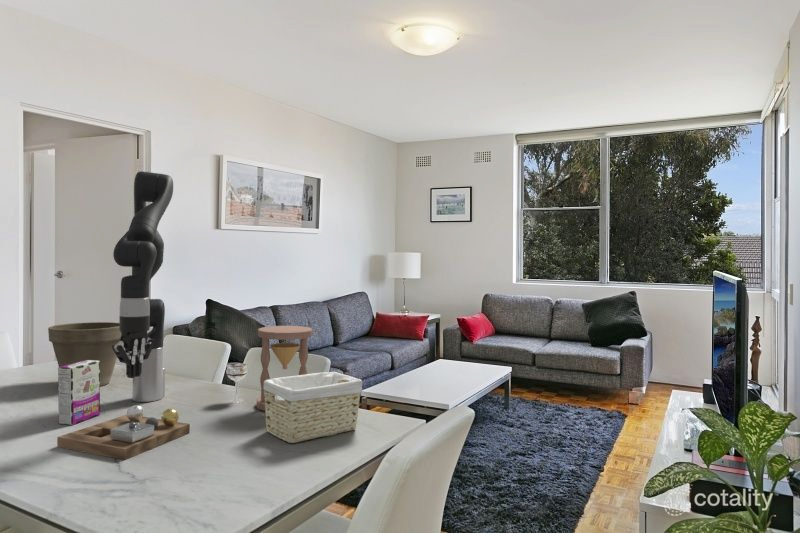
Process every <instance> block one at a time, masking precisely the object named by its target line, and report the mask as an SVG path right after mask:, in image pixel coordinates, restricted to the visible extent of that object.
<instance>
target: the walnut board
mask: <svg viewBox="0 0 800 533" xmlns="http://www.w3.org/2000/svg"><path fill="white" fill-rule="evenodd" d="M148 418H149V417H146V416H143V418H142V419H141V420H139V421H131V420H129V419H128V417H127V414H125V415H121V416H119V417H115V418H112V419H109V420H106V421H103V422H100V423H96V424H94V425H93V424H92V425H91V426H87V427H85V428H81V429H77V430H75V431H72V432H69V433H66V434H63V435H60V436H57V437H56V438H57V440H56V442H57V443H56V444H57V448H62V449H65V450H66V449H67V450H71V451H77V452H82V453H88V454H92V455H98V456H104V457H108V458H115V459H119V460H125V461H126V460H127V459H130V458H133V457H135V456H138V455H140V454H142V453H145V452H147V451H150V450H152V449H154V448H157V447H159V446H162V445H164V444H166V443H169V442H171V441H174V440H176V439H179V438H181V437H183V436H186V435H188V433H189V434H190V428H191V425H190V423H186V422H179V421H177V422H176V423H175V424H173V425H170V426H169V425H165V424H164V423H163V422H162V420H161V419H159V418H156V419H157V420H158V426H157V427H156V428H155V429H154V435H151V436H149V437H146V438H144V439H141V440H138V441H136V442H133V443H131V442H125V441H119V440H114V439H110V438H111V429H113V428H116V427H119V426H122V425H125V424H128V423H131V422H138V423H144V424H145V422H146V420H147V419H148Z"/></svg>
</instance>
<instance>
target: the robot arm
mask: <svg viewBox="0 0 800 533" xmlns="http://www.w3.org/2000/svg"><path fill="white" fill-rule="evenodd" d="M173 192H174V180H173V177H171V175H169V174H165V173H159V172H151V171H138V172H137V173H136V174H135V176H134V181H133V206H134V207H133V208H134V210H133V211H134V213H133V214H134V216H133V217H132V219H131V221H130V224H129V227H128V229H127V231H126V233H124V235H123V236H121V238H120V239H119V240H118V241H117V243H116V244H115V246H114V249H113V255H112V256H113V260H114V261H115V264H117V265H118V266H120V267H128V268H131V274H130V275H125V276H122V278H121V280H120V300H119V322H118V323H119V330H120V332H121V337H120V342H119V343H118V344H117V345H112V349H113V351H114V352H115V354H116V356H117V360H118V361H119V363H123V364H125V365H126V366H125V370H126V372H125V373H126V374H125V375H126V376H127V378H129V379H132V392H131V394H132V395H131V396H132V400H131V401H134V402H139V403H146V402H147V403H148V402H155V401H159V400H161V399H162V398H164V397H165V396H166V395H165V394H166V393H165V392H166V390H165V389H166V369H165V367H164V329H165V328H164V326H165V317H166V316H165V315H166V314H165V313H166V310H165V308H166V307H165V303H164V300H162V299H161V298H150V281H151V280H152V279H153V277H154V276H155V275H156V274H157V272H158V271H159V270H160V268H161V266H162V265H163V262H164V252H165V243H164V240H163V238H162V236H161V234H160V232H159V231H158V226H159V223H160V221H161V219H162V217H163V216H164V214H165V212H166V210H167V208H168V206H169V204H170V202H171V201H172V198H173ZM147 203H149V204H148V205H147ZM151 327H152V329H151ZM150 329H151V330H150ZM149 330H150V331H149ZM148 331H149V332H148Z"/></svg>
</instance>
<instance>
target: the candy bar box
mask: <svg viewBox="0 0 800 533" xmlns="http://www.w3.org/2000/svg"><path fill="white" fill-rule="evenodd" d="M57 369H58V370H57V373H58V374H57V381H58V382H57V383H58V384H57V387H58V400H57V402H58V424H59V425H62V424H65V425H66V426H75V425H76V424H77V425H78V424H79V423H82V422H84V421H87V420H89V419H92V418H95V417H98V416H100V415H101V386H100V361H96V360H85V361H81V362H77V363H73V364H69V365H66V366H62V367H59V366H58V368H57ZM65 425H64V426H65Z"/></svg>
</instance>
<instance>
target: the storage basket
mask: <svg viewBox="0 0 800 533" xmlns="http://www.w3.org/2000/svg"><path fill="white" fill-rule="evenodd" d="M263 389H264V396H265V410H266V411H264V412H265V414H264V415H265V428H266V432H268V433H270V435H273V436H274V437H277V438H278V439H281V440H282V441H284V442H287V443H288V444H294V443H295V444H296V443H300V442H303V441H308V440H314V439H316V438H321V437H330V436H335V435H337V434H340V433H344V432H345V433H346V432H347V433H348V432H349V431H355V430H356V429H357V424H358V423H357V422H358V421H357V420H358V414H359V408H360V399H361V398H360V397H361V394H362V391H363V380H362V379H360V378H357V377H354V376H350V375H347V374H344V373H340V372H336V371H331V372H330V371H326V372H324V371H323V372H315V373H308V374H305V375H299V374H297V375H290V376H283V377H275V378H270V379H269V380H265V381H264V387H263Z"/></svg>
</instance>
